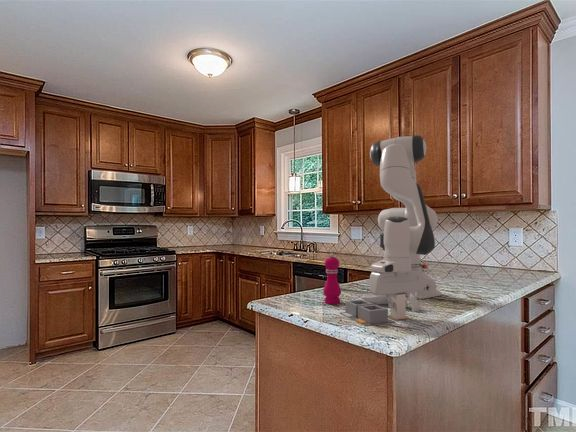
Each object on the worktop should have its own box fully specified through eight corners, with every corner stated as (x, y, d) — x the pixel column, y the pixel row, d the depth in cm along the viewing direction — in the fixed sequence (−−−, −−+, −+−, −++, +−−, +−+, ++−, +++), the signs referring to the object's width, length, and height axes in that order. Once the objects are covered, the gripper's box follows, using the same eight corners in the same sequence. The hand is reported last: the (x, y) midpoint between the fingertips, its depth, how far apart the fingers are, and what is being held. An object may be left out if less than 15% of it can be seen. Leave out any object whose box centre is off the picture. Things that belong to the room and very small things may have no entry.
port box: (366, 312, 127) (365, 298, 127) (394, 324, 112) (394, 308, 112) (339, 315, 123) (339, 301, 123) (365, 328, 108) (365, 312, 108)
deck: (399, 316, 122) (399, 313, 122) (413, 321, 116) (413, 319, 116) (382, 318, 120) (382, 315, 120) (396, 323, 113) (396, 321, 113)
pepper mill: (340, 304, 139) (340, 254, 140) (322, 304, 141) (322, 253, 141) (341, 300, 146) (341, 252, 147) (324, 300, 148) (323, 252, 148)
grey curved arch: (356, 304, 141) (356, 286, 141) (374, 300, 149) (374, 283, 149) (408, 316, 123) (408, 295, 123) (427, 311, 130) (426, 291, 130)
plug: (398, 315, 120) (398, 289, 120) (405, 318, 117) (405, 291, 117) (390, 316, 119) (390, 289, 119) (397, 319, 115) (396, 291, 115)
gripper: (415, 262, 125) (416, 301, 124) (366, 265, 117) (366, 307, 117) (428, 264, 119) (429, 305, 118) (377, 267, 111) (378, 311, 111)
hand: (397, 306), depth 118 cm, fingers closed on plug, 3 cm apart
